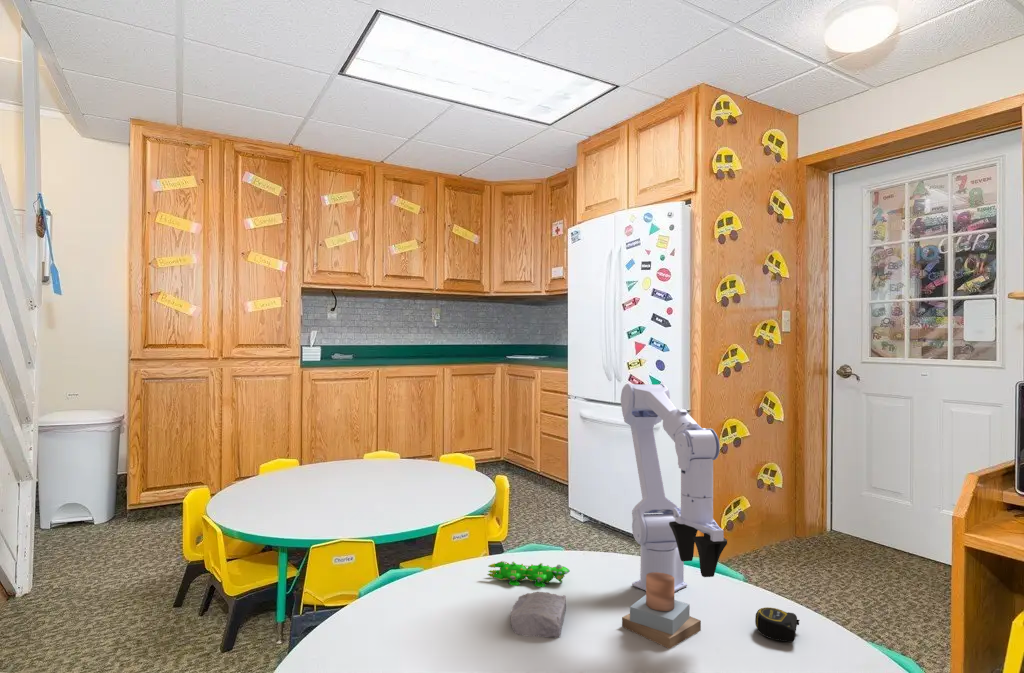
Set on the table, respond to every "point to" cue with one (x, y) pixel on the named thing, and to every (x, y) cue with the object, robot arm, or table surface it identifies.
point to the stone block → (539, 614)
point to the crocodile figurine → (527, 573)
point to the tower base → (661, 637)
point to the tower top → (660, 616)
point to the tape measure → (776, 624)
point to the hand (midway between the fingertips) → (696, 568)
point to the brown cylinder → (660, 591)
